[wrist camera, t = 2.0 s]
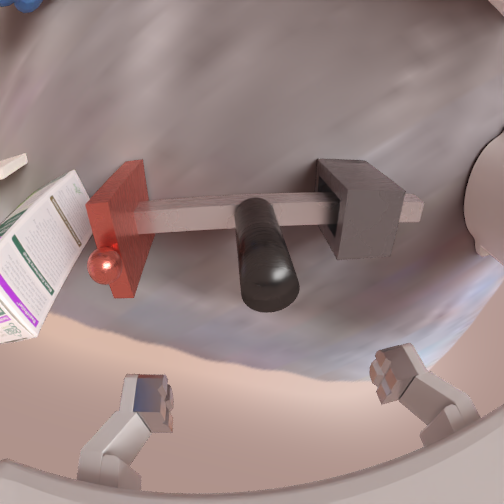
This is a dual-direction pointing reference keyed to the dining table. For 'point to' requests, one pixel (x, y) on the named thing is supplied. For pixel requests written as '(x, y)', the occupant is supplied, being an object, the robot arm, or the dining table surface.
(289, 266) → the linear slider rail
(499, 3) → the milk
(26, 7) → the grapes
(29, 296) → the syrup box
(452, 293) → the dining table surface
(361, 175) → the grey hollow block
